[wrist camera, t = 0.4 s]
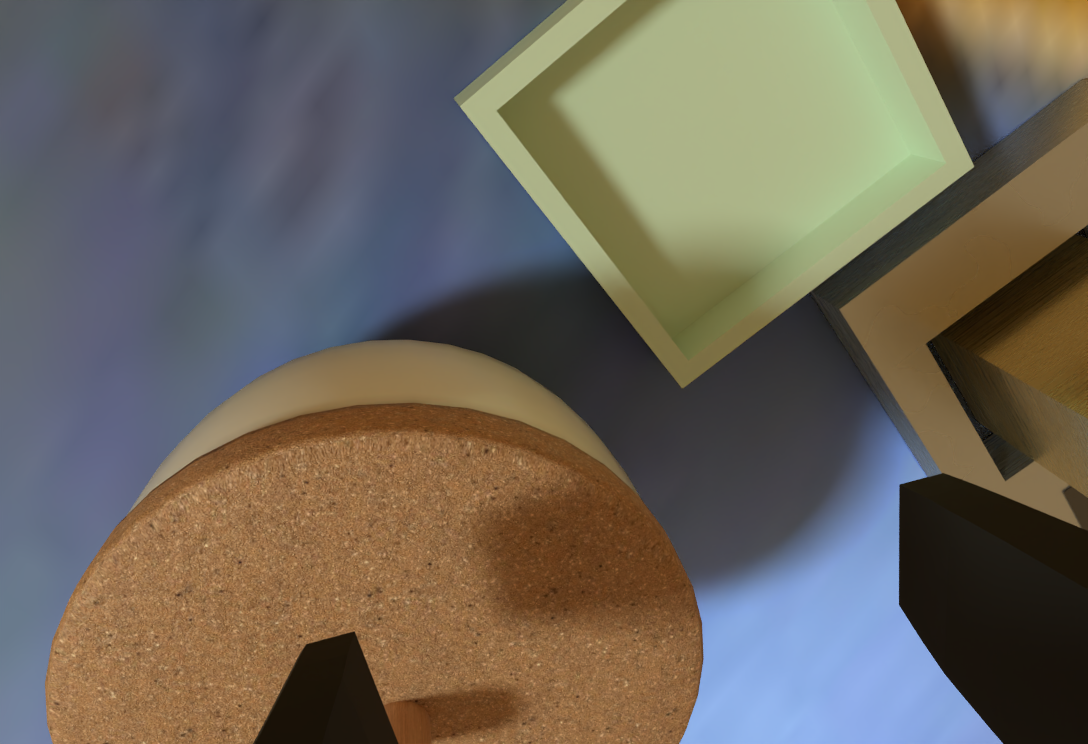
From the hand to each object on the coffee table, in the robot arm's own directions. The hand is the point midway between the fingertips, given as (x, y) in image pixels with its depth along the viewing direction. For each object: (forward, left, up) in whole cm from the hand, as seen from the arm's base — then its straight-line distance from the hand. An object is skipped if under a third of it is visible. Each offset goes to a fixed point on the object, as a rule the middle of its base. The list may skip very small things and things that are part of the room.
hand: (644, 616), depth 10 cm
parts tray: (+1, -6, -10) cm, 12 cm away
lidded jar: (-1, +5, -10) cm, 11 cm away
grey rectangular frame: (-10, -10, -10) cm, 17 cm away
